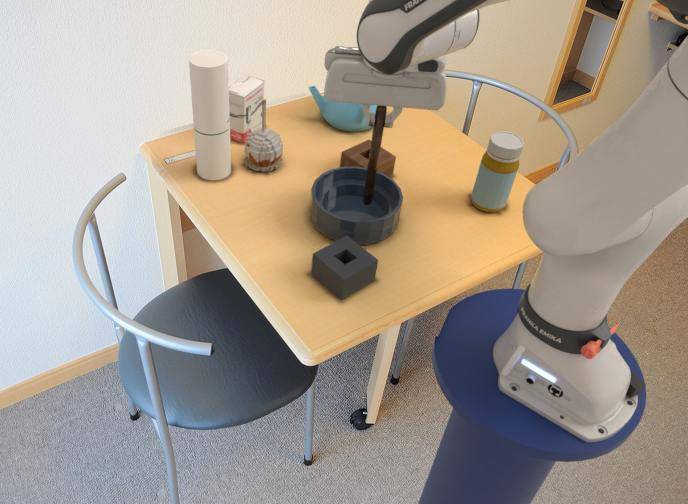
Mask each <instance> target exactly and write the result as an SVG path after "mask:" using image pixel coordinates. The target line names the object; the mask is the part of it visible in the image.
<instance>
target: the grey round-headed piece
mask: <svg viewBox="0 0 688 504" xmlns="http://www.w3.org/2000/svg"><path fill="white" fill-rule="evenodd" d="M244 143H245V144H244V153H245V158H244V161H245V165H246V166H247V167H248V169H251V170H254V171H256V172H259V171H261V172H264V173H265V172H268V171H270V172H271V171H273V170H277V169H278V168H279V167H280V166H282V165H283V157H282V156H283V150H284V143H283V140H282V137H281V135H280V134H278V133H277V132H276V131H275V130H273V129H271V128H268V127H267V99H265V98H264V99H263V100H262V128H260V129H259V128H257V129H256V130H254V131H253V132H252V133H250V134H249V137H248V138H247V140H246V141H245V142H244Z"/></svg>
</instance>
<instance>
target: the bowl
mask: <svg viewBox="0 0 688 504" xmlns="http://www.w3.org/2000/svg"><path fill="white" fill-rule="evenodd" d="M366 174H367V168H364V167H340V166H339V167H335V168H331V169H329V170H327V171H325V172H323V173H321V174H320V175H319V176H318V177H317V178H316V179H314V181H313V184H312V186H311V189H310V199H309V200H310V201H309V218H310V221H311V223H312V225H313V227H315V229H316V230H318V231H319V232H320V233H321V234H322V235H323V236H325V237H327V238H329V239H332V240H334V241H337V240H339V239H341V238H343V237H345V236H348V237H350V238H351V239H352V240H353V241H355V242H356V243H357V244H359V245H370V244H374V243H379V242H382V241H383V240H385V239H386V238H387V239H388V238H389V237H391V236H392V234H394V232H395V231H396V230H397V228H398V225H399V222H400V221H399V220H400V216H401V211H402V206H403V202H404V201H403V199H404V195H403V191H402V189H401V187H400V186H399V185H398V183H397V182H396V181H395V180H394V179H393V178H392V177H388V176H387V175H385V174H384V173H381V172H378V171H377V173H376V180H375V186H374V192H373V198H372V203H371V204H370V205H364V204H363V195H364V188H365V181H366Z"/></svg>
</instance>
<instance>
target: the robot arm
mask: <svg viewBox="0 0 688 504" xmlns="http://www.w3.org/2000/svg"><path fill="white" fill-rule="evenodd" d="M509 1H510V0H368V3H367V5H366V6H365V7H364V10H363V11H362V13H361V16H360V18H359V21H358V25H357V29H356V44H357V47H356V46H343V45H336V46H334V47H333V48H330V49H328V50H327V51H326V53H325V54H324V63H323V65H324V68H325V70H326V71H327V72H326V77H325V82H324V88H323V89H324V90H323V96H325V98H326V99H327V100H328V101H331V102H342V103H354V104H362V110H363V112H364V114H365V116H366V126H373V127H374V125H375V113H371V112H370V110H369V109H370V106H371V105H377V106H386V107H391V108H393V110H392V111H391V112H390V113H388V114H387V113H386V117H385V123H384V129H385V128H387V129H393V128H394V127H393V126H394V121H395V120H397V118H398V117H399V116H400V115H401V114H402V112H403V109H414V110H425V111H434V112H435V111H440V110H441V109H442V108H443V107H444V106H445V104H446V97H447V89H448V88H447V87H448V86H447V75H446V74H447V73H446V69H445V68H446V61H447V57H446V56H448V55H451V54H453V53H456V52H458V51H461V50H463V49H466V48H467V47H469V46H470V45H471V44H472V43H473V41H474V40H475V37H476V35H477V33H478V30H479V25H480V9H482V8H486V7H488V6H493V5H497V4H500V3H504V2H509ZM655 2H657V3H658V4H660V5H661V6H663V7H664V8H666V9H667V10H668V11H669V13H670V14H671V15H672V17H673V18H674V20H676V21H677V22H678V23H680V24H683V25H686V26H688V19H686V17H688V0H655ZM522 204H523V205H522V210H521V212H522V213H521V214H522V224H523V227H524V229H525V232H526V234H527V236H528V237H529V239H530V241H531V242H532V243H533V244H534V245H535V246H536V247H537V248H538V249H539V250H540V251H541V252H543V254H542V256H541V258H540V262H539V264H538V266H537V269H536V271H535V274H534V276H533V278H532V281H531V283H529V284H528V285H527V286H526V287H525V289H524V290H525V291H524V293H523V295H522V297H521V299H520V302H519V306H518V309H517V312H518V313H517V315H516V317H515V319H514V320H513V322H512V323H511V325H510V326H509V327H508V329H507V330H506V331H505V332H504V333H503V334H502V335H501V336H500V337H499V338H498V339H497V341H496V343H495V345H494V348H493V358H494V362H495V365H496V367H497V370H498V374H499V376H498V387H499V389H500V390H501V391H502V392H503V393H505V394H506V395H508V396H510V397H511V398H513V399H515V400H516V401H518V402H520V403H521V404H523V405H525V406H526V407H528V408H530V409H531V410H533V411H535V412H536V413H538V414H540V415H541V416H543V417H545V418H546V419H548V420H550V421H551V422H553V423H555V424H556V425H558V426H560V427H561V428H563V429H565V430H566V431H568V432H570V433H571V434H573V435H575V436H576V437H578V438H580V439H582V440H583V441H585V442H598V441H602V440H605V439H608V438H609V437H611V436H613V435H614V434H616V433H617V432H618V431H620V430H621V429H622V428H623V427H624V426H625V425H626V424H627V423H628V421H629V420H630V419H631V417H632V415H633V413H634V411H635V409H636V407H637V402H638V396H637V395H639V394H640V393H641V392H642V390H643V389H644V387H646V386H647V384H646V382H645V383H644V382H643V381H642V380H641V379H639V378H638V377H637V376H636V375H635V374H634V373H633V372H632V371H631V370H630V368H629V367H628V365H627V364H626V362H625V361H624V359H623V358H622V356H621V355H620V353H619V352H618V350H617V349H616V345H615V344H614V343H613V342H612V341H611V340H610V337H611V335H612V334H613V333H614V332H615V333H616V331H617V329H618V327H619V325H620V324H619V323H616V324H615V325H614V326H612V327H610V326H609V324H608V312H609V311H610V309H611V306H612V305H613V303H614V302H615V300H616V298H617V297H618V295H619V293H620V292H621V290H622V288H623V286H624V285H625V284H626V282H627V281H628V280H629V279H630V277H632V275H633V274H634V273H635V272H636V270H638V268H639V267H640V266H642V264H643V263H644V262H645V261H646V260H647V259H648V258H649V257H650V256H651V255H652V253H654V251H655V250H656V249H657V248H658V247H659V246H660V245H661V244H662V242H664V241H665V240H666V238H667V237H668V236H669V235H670V234H671V233H672V232H673V231H674V230H675V229H676V228H677V227H678V226H680V224H682V223H683V222H684V221H685V220H687V219H688V35H687V36H686V37H685V38H684V40H683V41H682V42H681V43H680V45H679V46H678V47H677V48H676V49H675V51H674V52H673V53H672V55H671V56H670V57H669V58H668V60H667V61H666V62H665V63H664V65H663V66H662V67H661V68H660V70H659V71H658V73H657V74H656V75H655V76H654V77H653V79H652V80H651V81H650V82H649V83H648V85H647V86H646V87H645V88H644V90H643V91H642V92H641V94H640V95H639V96H638V97H637V98H636V100H635V101H634V102H633V103H632V105H630V107H629V108H628V109H627V110H626V111H625V112H624V113H623V114H622V115H621V116H620V117H619V118H618V119H616V120H615V121H614V122H613V123H612V124H611V125H610V126H609V127H607V128H606V129H605V130H604V131H602V132H601V133H600V134H599V135H598V136H597V137H595V138H594V139H593V140H592V141H591V142H590V143H588V144H587V145H586V146H585V147H584V148H583V149H582V150H580V151H579V152H578V153H577V154H576V155H574V156H573V158H571V159H570V160H569V161H568V162H566V163H565V164H564V165H562V166H561V167H560V168H558V170H556V171H555V172H553V173H551V174H550V175H548V176H547V177H545V178H543V179H542V180H541V181H539V182H537V183H536V184H534V185H533V186H532V187H530V189H529V190H528V191H527V193H526V195H525V197H524V200H523V203H522ZM609 328H611V329H609ZM512 389H514V390H515V391H514V390H512ZM628 404H630V405H628ZM599 431H600V432H601V433H600V432H599Z"/></svg>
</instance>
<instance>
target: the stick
mask: <svg viewBox="0 0 688 504" xmlns="http://www.w3.org/2000/svg"><path fill="white" fill-rule="evenodd" d="M387 111H388V106H377V107H376V113H375V125H374V126H373V127H372V134H371V147H370V154H369V161H368V168H367V174H366V181H365V188H364V195H363V204H364V205H370V204H371V203H372V198H373V192H374V186H375V180H376V173H377V167H378V161H379V155H380V149H381V147H382V141H383V135H384V129H385V127H384V123H385V117H386V114H387Z"/></svg>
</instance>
